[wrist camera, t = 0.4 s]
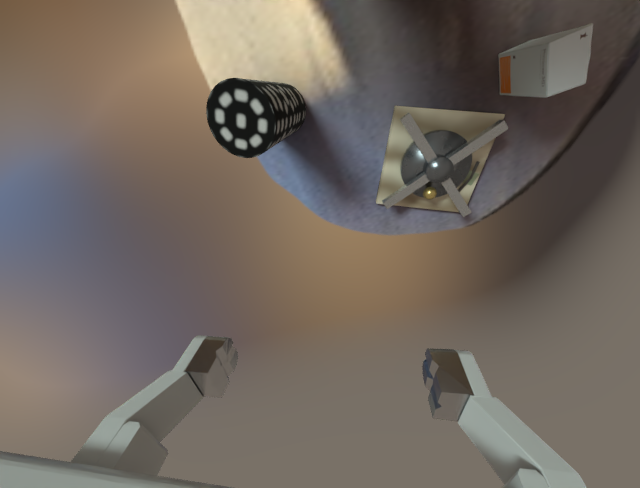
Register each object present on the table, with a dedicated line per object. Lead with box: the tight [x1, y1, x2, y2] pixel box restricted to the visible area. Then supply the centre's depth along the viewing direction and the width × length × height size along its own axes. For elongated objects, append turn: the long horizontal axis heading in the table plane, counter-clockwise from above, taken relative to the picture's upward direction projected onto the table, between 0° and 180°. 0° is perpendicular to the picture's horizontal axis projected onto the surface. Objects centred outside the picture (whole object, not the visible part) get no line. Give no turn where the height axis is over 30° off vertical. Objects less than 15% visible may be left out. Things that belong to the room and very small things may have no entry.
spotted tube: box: [207, 78, 306, 158], centre depth 37 cm, size 8×8×20 cm
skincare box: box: [498, 23, 593, 98], centre depth 33 cm, size 6×4×12 cm
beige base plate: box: [376, 106, 505, 212], centre depth 46 cm, size 18×18×1 cm
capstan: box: [382, 113, 508, 217], centre depth 44 cm, size 17×17×4 cm
